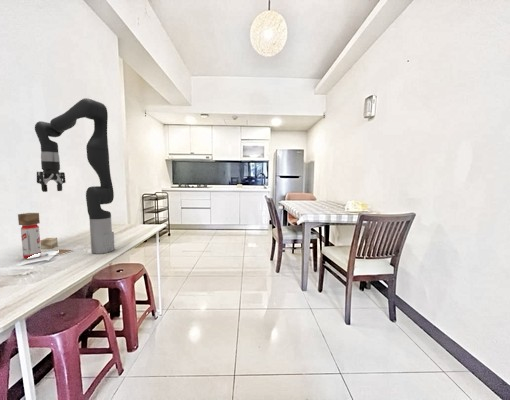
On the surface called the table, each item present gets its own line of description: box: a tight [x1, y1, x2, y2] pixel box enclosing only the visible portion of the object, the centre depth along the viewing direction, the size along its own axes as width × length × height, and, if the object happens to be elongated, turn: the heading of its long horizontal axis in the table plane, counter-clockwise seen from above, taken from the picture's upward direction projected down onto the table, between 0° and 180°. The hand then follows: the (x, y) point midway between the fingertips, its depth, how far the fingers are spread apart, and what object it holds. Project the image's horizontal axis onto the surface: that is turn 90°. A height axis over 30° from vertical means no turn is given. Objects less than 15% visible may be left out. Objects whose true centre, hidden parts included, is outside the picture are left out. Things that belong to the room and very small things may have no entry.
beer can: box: [20, 224, 42, 260], centre depth 111 cm, size 6×6×16 cm
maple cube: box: [40, 237, 59, 250], centre depth 128 cm, size 5×5×5 cm
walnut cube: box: [17, 212, 41, 226], centre depth 110 cm, size 5×5×5 cm
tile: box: [55, 248, 75, 256], centre depth 119 cm, size 8×8×1 cm
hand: (52, 191), depth 128 cm, fingers open, 8 cm apart
